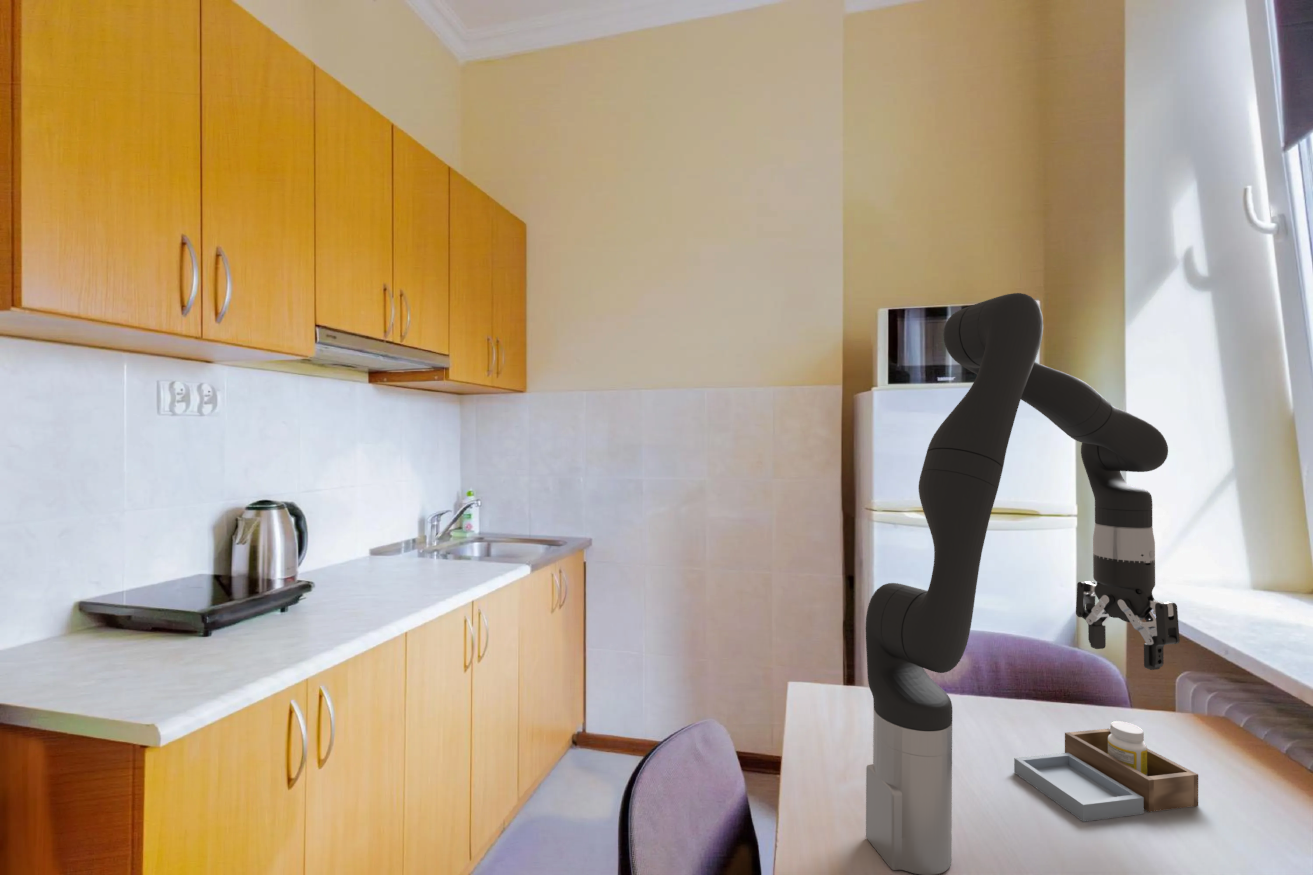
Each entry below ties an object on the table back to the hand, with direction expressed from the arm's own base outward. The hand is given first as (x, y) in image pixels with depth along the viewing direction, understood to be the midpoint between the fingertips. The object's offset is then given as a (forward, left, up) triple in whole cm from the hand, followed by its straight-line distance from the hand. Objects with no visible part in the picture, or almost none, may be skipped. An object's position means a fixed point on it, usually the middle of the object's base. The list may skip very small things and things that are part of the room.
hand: (1124, 657), depth 90 cm
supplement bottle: (0, -1, -19) cm, 19 cm away
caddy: (0, -1, -19) cm, 19 cm away
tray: (-11, -2, -19) cm, 22 cm away
